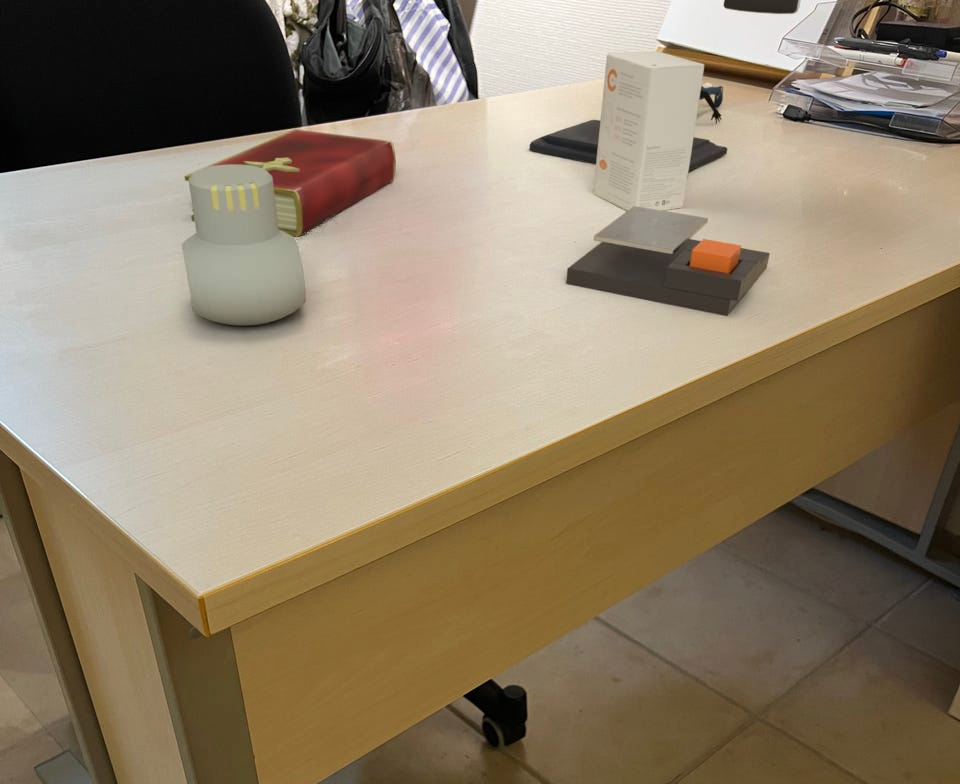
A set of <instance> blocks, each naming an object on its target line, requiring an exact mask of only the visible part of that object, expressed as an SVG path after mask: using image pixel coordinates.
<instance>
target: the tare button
mask: <svg viewBox="0 0 960 784" xmlns="http://www.w3.org/2000/svg"><path fill="white" fill-rule="evenodd" d="M700 241H701V242H700V243H699V244H698V245H697V246H696V247H695V248H694V249H693V250H692V254H691V260H690V266H691V267H697V268H702V269H708V270H713V271H718V272H724V273H729V274H730V272H731V271H732V270H733V269H734V268H735V267H736V266H737V265H738V261H739V256H740V251H741V248H742V245H741V244H735V243H730V242H723V241H717V240H712V239H706V238H703V239H702V240H700Z"/></svg>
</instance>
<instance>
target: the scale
mask: <svg viewBox="0 0 960 784" xmlns="http://www.w3.org/2000/svg"><path fill="white" fill-rule="evenodd" d="M701 241H702V240H697V239H692V238H690V239H689V240H688V241H687V242H686V243H685V244H684V245H683V246H682V247H680V248H679V249H678V250H677V251H676V252H675V253H674V254H673V255H672V254H666V253H661V252H655V251H650V250H644V249H639V248H633V247H628V246H622V245H617V244H611V243H606V242H600V243H599V244H597V245H596V246H594V247H593V248H591V250H589V251H588V252H586V254H584V255H583V256H582V257H580V258H579V259H577V260H576V261H575V262H574V263H573V264H571V265H570V266H569V267H567V269H566V270H567V271H566V280H565V281H566V282H565V284H566V285H568V286H574V287H578V288H579V287H580V288H584V289H589V290H595V291H599V292H605V293H609V294H614V295H618V296H624V297H629V298H634V299H640V300H644V301H650V302H654V303H659V304H663V305H664V304H665V305H668V306H673V307H679V308H684V309H690V310H695V311H700V312H704V313H709V314H715V315H719V316H724V317H728V316H729V315H730V314H731V313H732V311H733V310H734V309H735V308H736V307H737V306H738V304H739V303H740V302H741V300H742V299H743V298H744V297H745V296H746V294H748V292H749V291H750V289H751V288H752V287H753V286H754V285H755V283H757V281H758V280H759V278H760V277H761V276H762V275H763V273H764V272H765V271H766V270H767V268H768V264H769V259H770V252H768V251H767V252H766V251H760V250H756V249H749V248H743V247H741V251H740V256H739V261H738V265H737V266H736V267H735V268H734V269H733V270H732V271H731V272H730V274H729V273H724V272H718V271H713V270H708V269H702V268H697V267H691V266H690V260H691V254H692V250H693V249H694V248H695V247H696V246H697V245H698V244H699V243H700V242H701Z"/></svg>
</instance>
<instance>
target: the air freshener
mask: <svg viewBox="0 0 960 784" xmlns="http://www.w3.org/2000/svg"><path fill="white" fill-rule="evenodd" d="M205 167H206V168H205ZM205 167H202V168H200V169H197V170H195V171H193V172H194V173H193V172H192V173H193V174H192V175H191V177H190V178H189V181H188V187H189V192H190V199H191V205H192V211H193V212H192V213H193V215H194V219H195V221H194V227H195V231H196V233H194V234H193V235H191V236H190V237H188V238H186V239H185V240H184V241H183V242H182V243H181V248H182V253H183V259H184V266H185V271H186V276H187V283H188V289H189V295H190V300H191V306H192V312H193V313H194V314H196V315H197V316H200V317H201V318H204V319H205V320H206V319H207V320H208V321H212V322H215V323H218V324H222V325H228V326H238V327H241V326H242V327H244V326H245V327H250V326H259V325H265V324H269V323H273V322H277V321H279V320H282V319H283V318H285V317H287V316H289V315H291V314H293V313H295V312H296V311H297V310H299V309H300V308H301V307H302V306H303V305H304V304H305V303H306V300H307V290H306V281H305V274H304V266H303V261H302V258H301V253H300V249H299V246H298V243H297V240H296V239H295V236H291V235H290V234H288V233H286V232H284V231H282V230H279V229H278V220H277V212H276V203H275V195H274V186H273V178H272V176H271V175H270V174H269V173H268V172H267V171H266V170H265V169H262V168H259V167H255V166H250V165H217V166H210V167H207V166H205Z"/></svg>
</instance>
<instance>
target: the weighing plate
mask: <svg viewBox="0 0 960 784" xmlns="http://www.w3.org/2000/svg"><path fill="white" fill-rule="evenodd" d="M708 220H709V218H708V217H703V216H696V215H691V214H685V213H679V212H672V211H668V210H664V211H661V210H655V209H649V208H643V207H637V206H633V207H632V208H631V209H629V210H628V211H627V210H626V211H625V212H624V213H623V214H621V215H620V216H618V217H617V218H615V220H613V221H612V222H611V223H609V224H607V226H605V227H604V228H603V229H600V231H598V232H597V233H595V234H594V235H593V241H595V242H596V241H597V242H600V243H601V242H606V243H611V244H617V245H622V246H628V247H633V248H639V249H644V250H650V251H655V252H661V253H666V254H672V255H673V254H674V253H675V252H676V251H677V250H678V249H679V248H680V247H682V246H683V245H684V244H685V243H686V242H687V241H688V240H689V239H692V238H693V237H694V236H695V235H696V234H697V233H698V232H699V231H700V230H701V229H702V228H703V227H704V226H706V224H708V222H709V221H708Z"/></svg>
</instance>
